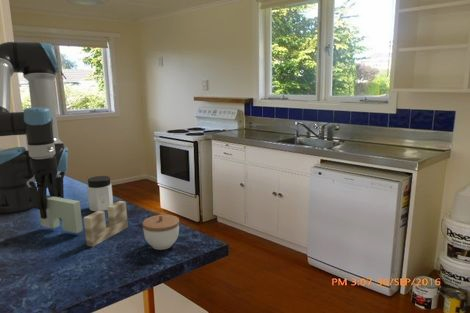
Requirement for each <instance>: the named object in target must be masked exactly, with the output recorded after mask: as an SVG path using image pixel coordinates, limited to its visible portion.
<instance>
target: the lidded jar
mask: <svg viewBox="0 0 470 313" xmlns="http://www.w3.org/2000/svg"><path fill="white" fill-rule="evenodd" d="M142 229H143V230H142V231H143V236H144V239H145V241H146V243H147V244H148V245H150V247H152V249H154V250H158V251H159V250H160V251H162V250H167V249H170V248H171V247H173V245H174V244H175V242H176V241H178V240H177V239H178V237H179V232H180V219H179V217H178V216H175V215H172V214H157V215H153V216H152V215H151V216H150V217H147V218H145V219H144V220H143V221H142Z"/></svg>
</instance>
